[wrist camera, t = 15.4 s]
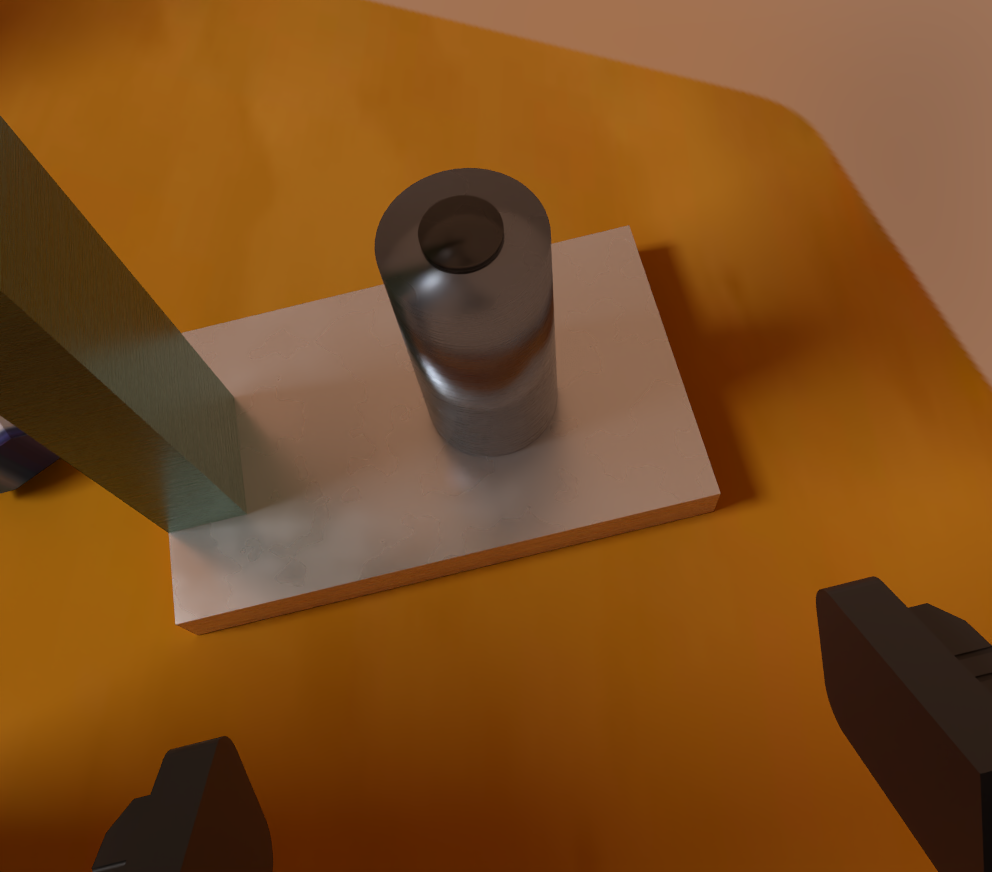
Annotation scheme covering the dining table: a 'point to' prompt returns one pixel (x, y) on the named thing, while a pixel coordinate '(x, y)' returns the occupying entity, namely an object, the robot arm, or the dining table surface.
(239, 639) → the dining table surface
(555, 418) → the press
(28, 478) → the white handheld tool
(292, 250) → the dining table surface
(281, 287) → the dining table surface
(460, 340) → the cylinder
